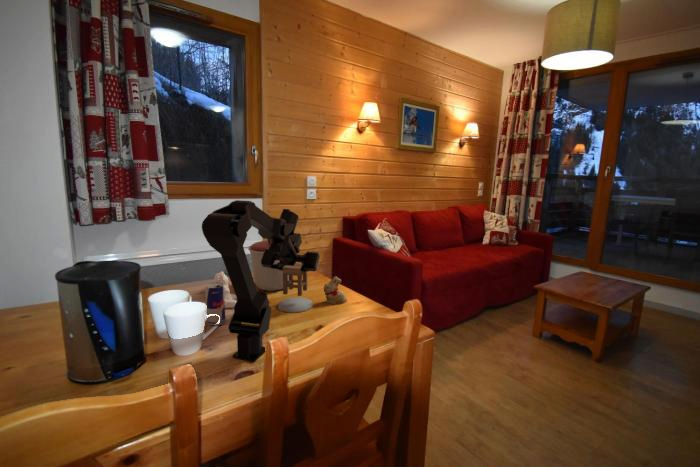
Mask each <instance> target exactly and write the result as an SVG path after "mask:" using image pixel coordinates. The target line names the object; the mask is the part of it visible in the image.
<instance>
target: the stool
mask: <svg viewBox="0 0 700 467" xmlns="http://www.w3.org/2000/svg"><path fill="white" fill-rule="evenodd" d="M301 267H302V264H301V262H296V264H294V266H289V265H285V266H284V267H283V289H282V295H288V294H289V290H294V289H297V297H302V296H303V292H304V291H305V292H307V290H308V272H307V273H306V274H305V273H303V272H302V271H300V270H301ZM288 275H289V281H288ZM294 276H295V277H296V276H297V279H294ZM294 283H297V284H294Z"/></svg>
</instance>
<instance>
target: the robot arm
mask: <svg viewBox="0 0 700 467" xmlns="http://www.w3.org/2000/svg"><path fill="white" fill-rule="evenodd" d="M299 218H300V217H299V215H298V214H296V212H293V211H291V209H289V208H283V209H282V212H280V215H279V218H276V217H272V216H271V215H269V214H268V213H267V212H265V211H264V210H262V209H261V208H260V207H258V206H257V205H256V203H255V202H253V201H252V200H239V199H238V200H237V199H236V200H233V201H231V202H230V203H229V204H228V205H225V206H223V207H221V208H218V209H216V210H213V211H212V212H211V213H209V214H208V215H206V217H205V218H204V219H203V221H202V224H201V230H202V233H203V236H204V238H205V240H206V242H207V243H208V244H209V246H210V247H211V248H212V249H214V250H215V251H216V252H217V253H219V254H220V256H221V259H222V260H223V264H224V267H225V269H226V270H225V271H226V272H227V276H228V277H229V278H228V279H229V280H230V282H231V283H230V284H231V286H232V288H233V291H234V294H235V295H236V301H237V302H236V304H235V306H234V308H233V310H234V311H233V313H232V316H231V319H230V322H229V323H228V327H227V328H228V332H229V333H230V334H236V341H237V343H236V345H237V346H236V348H237V350H236V352H234V353H233V354H232V358H233V359H239V360H244V361H247V362H256V361H257V360H258V359H260V357H261V356H262V355H263V354H265V353H266V351H265V347H266V346H263V345H264V344H263V336H264V335H265V333H266V332H268V331H269V330H270V322H271V314H272V308H271V307H270V303H271V302H270V300H269V299H268V298H269V297H268V294H267V292H266V291H264V290H257V286H256V284H255V280H254V276H253V274H252V273H253V272H252V271H251V267H250V264H249V261H248V259H247V255H246V254H247V253H246V252H245V249H244V244H245V241H246V239H247V237H248V232H249V231H250V229H251V228H252V227H253V228H255V229H257V230H258V231H257V234H258V235H259V236H260V237H261V238H262V239H265V240H267V239H270V243H271V244H270V247H269V248H267V249H265V250H264V253H263V256H262V258H261V264H262V266H263V267H269V268H272V269H277V270H281V271H283V267H284V266H285V265H289V266H294V264H296V263H301V264H302V267H301V270H300V271H302V272H303V273H305V274H306V273H307V274H308V272H316V271H317V270H318V266H319V261H320V258H321V256H320V253H319V252H318V251H306V253H303V254H300V251H301V249H300V247H301V245H302V243H303V240H302V235H301V234H302V233H297V232H295V231H296V228H297V225H298V222H299Z"/></svg>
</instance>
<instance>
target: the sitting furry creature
mask: <svg viewBox="0 0 700 467" xmlns="http://www.w3.org/2000/svg"><path fill="white" fill-rule="evenodd" d="M214 281H215V282H220V283H223V286H224V298H225V309H229V308H230V309H234V306H235V304H236V302H237V297H236V294H235V293H230V292H231V291H230V290H231V289H230V287H229V285H228V283H229V278H228V275H225V273H224V271H219V272H218V273H215V275H214Z"/></svg>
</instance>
